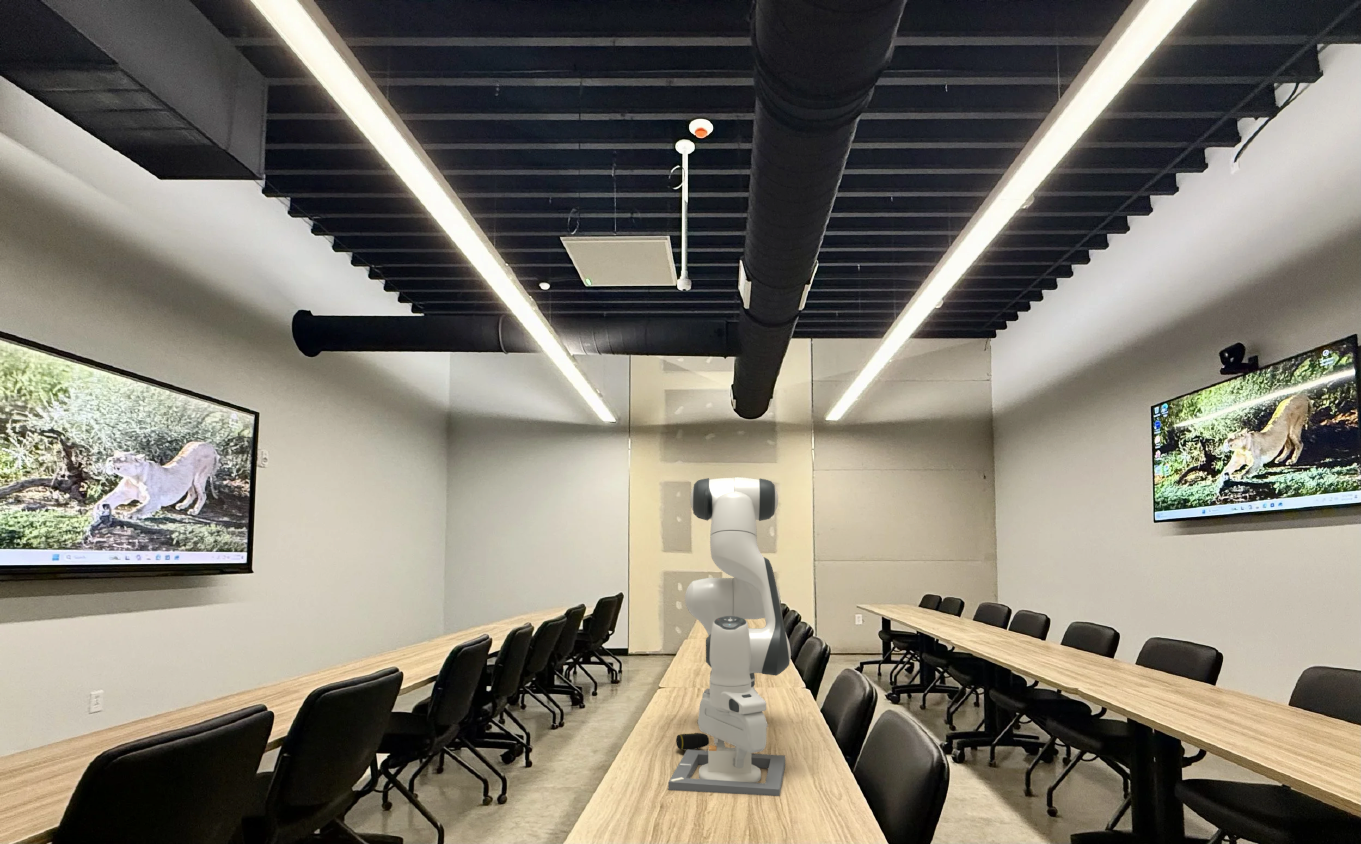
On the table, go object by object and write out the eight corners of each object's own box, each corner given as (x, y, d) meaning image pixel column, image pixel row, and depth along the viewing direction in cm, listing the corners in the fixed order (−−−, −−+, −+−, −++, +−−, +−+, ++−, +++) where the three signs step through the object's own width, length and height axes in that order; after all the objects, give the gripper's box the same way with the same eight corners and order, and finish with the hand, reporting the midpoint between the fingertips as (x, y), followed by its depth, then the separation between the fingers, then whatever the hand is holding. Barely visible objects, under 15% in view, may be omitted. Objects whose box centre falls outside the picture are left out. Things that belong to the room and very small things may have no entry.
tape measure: (711, 749, 190) (709, 731, 191) (683, 752, 188) (682, 735, 189) (699, 748, 196) (698, 731, 197) (672, 752, 194) (671, 735, 195)
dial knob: (760, 768, 179) (760, 739, 179) (761, 789, 166) (761, 758, 166) (700, 767, 180) (700, 738, 180) (697, 787, 167) (697, 756, 167)
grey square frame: (687, 761, 185) (687, 748, 186) (785, 767, 181) (785, 754, 182) (668, 795, 164) (668, 781, 164) (779, 802, 160) (779, 788, 160)
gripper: (691, 688, 181) (691, 753, 180) (746, 708, 164) (746, 779, 163) (715, 684, 185) (715, 748, 183) (771, 704, 167) (772, 774, 166)
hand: (730, 763), depth 173 cm, fingers closed on dial knob, 4 cm apart
